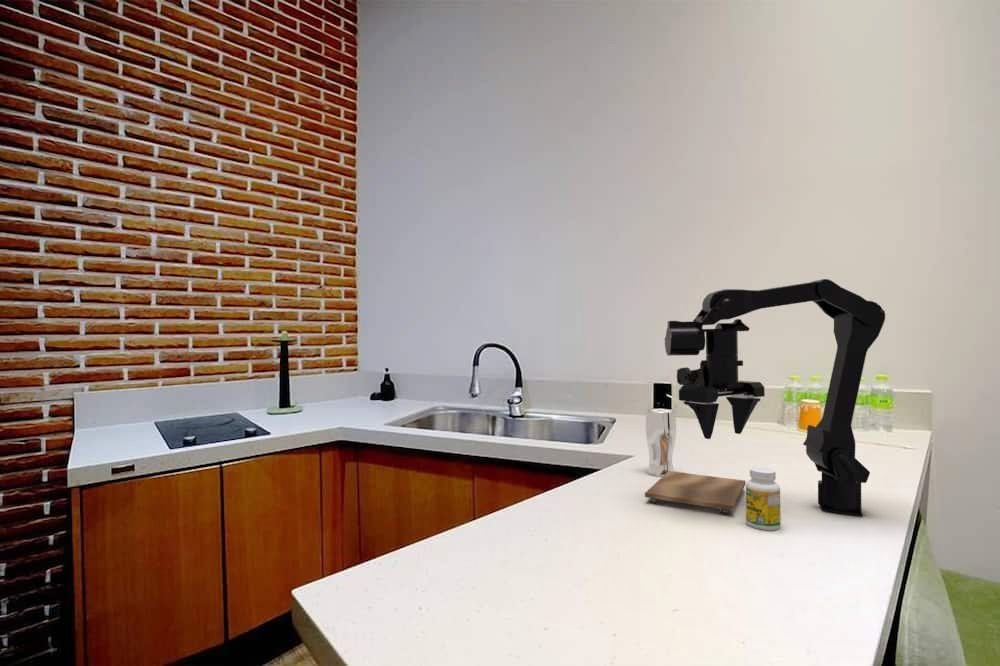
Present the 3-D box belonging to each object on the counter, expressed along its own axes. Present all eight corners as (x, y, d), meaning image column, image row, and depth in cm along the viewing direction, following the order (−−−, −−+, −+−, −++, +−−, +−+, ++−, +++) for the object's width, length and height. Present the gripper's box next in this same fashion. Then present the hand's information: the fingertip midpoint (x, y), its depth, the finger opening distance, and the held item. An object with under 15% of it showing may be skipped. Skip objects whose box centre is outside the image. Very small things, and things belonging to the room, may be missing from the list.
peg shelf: (745, 490, 115) (745, 480, 115) (733, 517, 98) (733, 506, 98) (668, 479, 123) (668, 471, 123) (644, 503, 106) (644, 492, 106)
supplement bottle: (787, 529, 92) (787, 472, 92) (762, 532, 90) (762, 475, 90) (763, 519, 97) (763, 465, 97) (738, 522, 95) (738, 467, 95)
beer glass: (680, 477, 125) (680, 412, 125) (649, 477, 125) (649, 412, 125) (671, 469, 132) (671, 408, 132) (642, 469, 132) (642, 408, 132)
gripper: (716, 353, 116) (717, 425, 116) (655, 355, 106) (657, 435, 106) (765, 354, 107) (766, 433, 106) (703, 357, 97) (705, 444, 97)
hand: (723, 436), depth 104 cm, fingers open, 9 cm apart
